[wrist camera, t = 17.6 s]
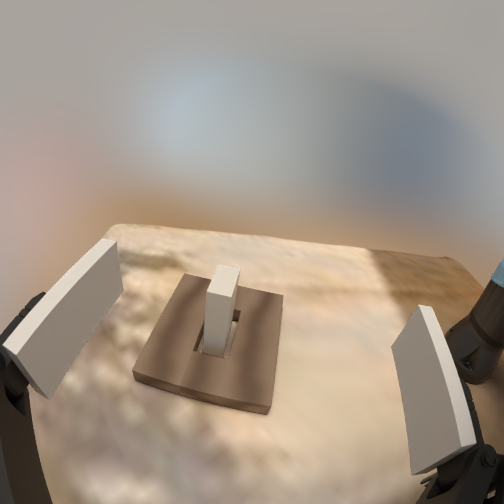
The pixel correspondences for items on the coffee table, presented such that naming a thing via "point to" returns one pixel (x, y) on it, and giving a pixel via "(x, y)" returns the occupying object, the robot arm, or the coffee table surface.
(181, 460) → the coffee table surface
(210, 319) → the tall cream pillar
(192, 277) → the brown slotted base plate
